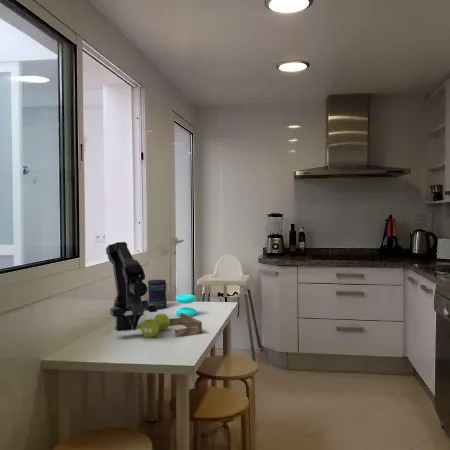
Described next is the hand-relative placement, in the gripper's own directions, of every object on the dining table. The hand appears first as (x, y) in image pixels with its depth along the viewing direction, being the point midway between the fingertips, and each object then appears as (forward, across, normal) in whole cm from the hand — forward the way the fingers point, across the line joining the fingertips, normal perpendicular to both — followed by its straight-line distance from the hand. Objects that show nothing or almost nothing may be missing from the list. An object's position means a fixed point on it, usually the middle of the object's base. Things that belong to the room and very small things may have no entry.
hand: (134, 330), depth 209 cm
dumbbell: (+3, +9, 0) cm, 10 cm away
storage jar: (+3, +28, +55) cm, 62 cm away
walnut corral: (+2, +20, 0) cm, 21 cm away
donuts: (+3, +34, +28) cm, 44 cm away
